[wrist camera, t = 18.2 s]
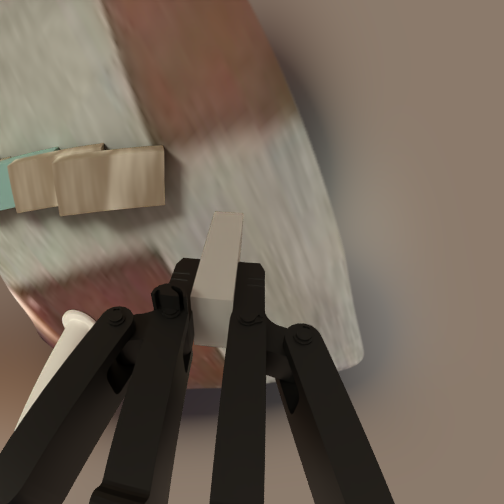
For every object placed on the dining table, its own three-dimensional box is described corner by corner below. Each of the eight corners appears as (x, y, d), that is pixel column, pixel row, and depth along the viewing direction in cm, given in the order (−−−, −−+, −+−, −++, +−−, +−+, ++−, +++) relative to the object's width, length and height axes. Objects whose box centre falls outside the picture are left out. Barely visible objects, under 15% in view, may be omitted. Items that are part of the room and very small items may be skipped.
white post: (105, 347, 42) (53, 488, 21) (68, 334, 41) (8, 464, 20) (101, 317, 38) (33, 477, 17) (60, 303, 37) (-16, 447, 16)
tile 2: (108, 190, 28) (23, 204, 24) (103, 143, 25) (15, 159, 22) (106, 198, 26) (17, 213, 23) (100, 148, 23) (7, 166, 20)
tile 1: (163, 195, 28) (64, 206, 25) (162, 145, 25) (57, 156, 22) (164, 205, 26) (60, 216, 23) (164, 151, 23) (51, 163, 20)
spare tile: (64, 190, 28) (-6, 205, 25) (58, 146, 25) (-15, 165, 22) (60, 198, 26) (-13, 213, 23) (52, 151, 23) (-23, 171, 20)
